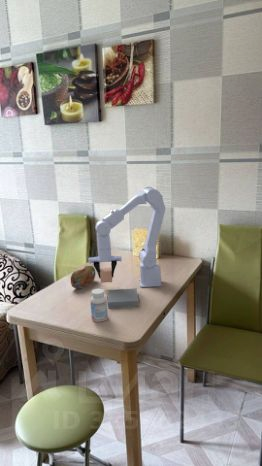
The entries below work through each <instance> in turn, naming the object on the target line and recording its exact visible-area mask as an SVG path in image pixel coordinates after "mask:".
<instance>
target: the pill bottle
mask: <svg viewBox="0 0 262 466" xmlns="http://www.w3.org/2000/svg"><path fill="white" fill-rule="evenodd" d="M89 301H90V314H91V320H92V321H93V322H96V323H99V322H104V321H107V320H108V317H109V316H108V315H109V314H108V311H109V310H108V297H107V296H106V295H105V290H104V289H103V288H95V289H92V290H91V297H90V300H89Z"/></svg>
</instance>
